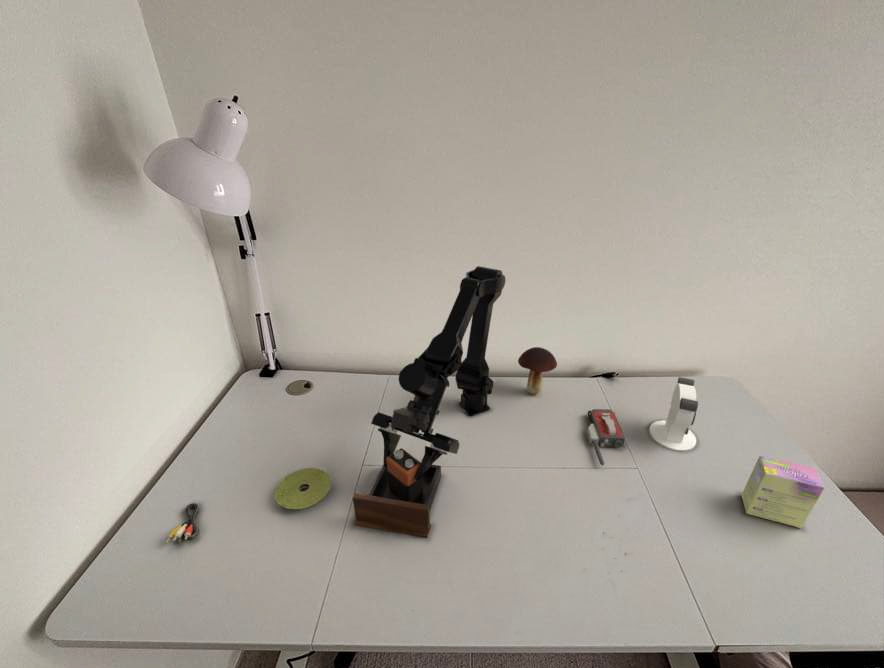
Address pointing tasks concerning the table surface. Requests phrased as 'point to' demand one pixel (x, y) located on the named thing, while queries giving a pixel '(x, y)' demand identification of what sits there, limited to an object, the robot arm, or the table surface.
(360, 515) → the wooden drawer
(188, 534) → the composite cable
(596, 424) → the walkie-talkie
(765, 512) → the box
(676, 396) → the white upright stand
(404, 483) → the battery
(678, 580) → the table surface
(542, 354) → the decorative mushroom
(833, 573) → the table surface
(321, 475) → the mat
